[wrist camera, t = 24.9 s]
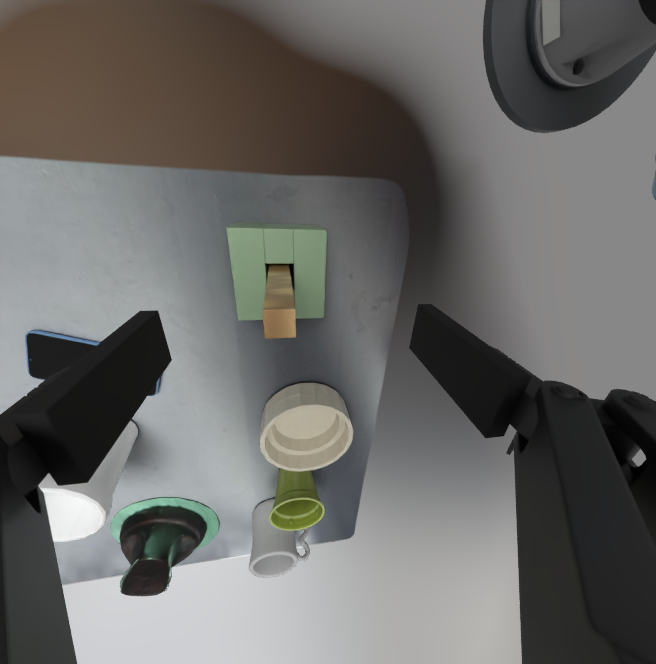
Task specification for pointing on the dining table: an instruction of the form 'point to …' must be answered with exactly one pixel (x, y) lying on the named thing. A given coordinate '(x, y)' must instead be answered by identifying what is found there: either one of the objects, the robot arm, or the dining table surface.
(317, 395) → the bowl
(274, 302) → the stirring stick
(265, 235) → the holder
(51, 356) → the smartphone
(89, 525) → the cup
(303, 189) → the dining table surface
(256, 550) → the mug
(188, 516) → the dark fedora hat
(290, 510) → the plant pot
